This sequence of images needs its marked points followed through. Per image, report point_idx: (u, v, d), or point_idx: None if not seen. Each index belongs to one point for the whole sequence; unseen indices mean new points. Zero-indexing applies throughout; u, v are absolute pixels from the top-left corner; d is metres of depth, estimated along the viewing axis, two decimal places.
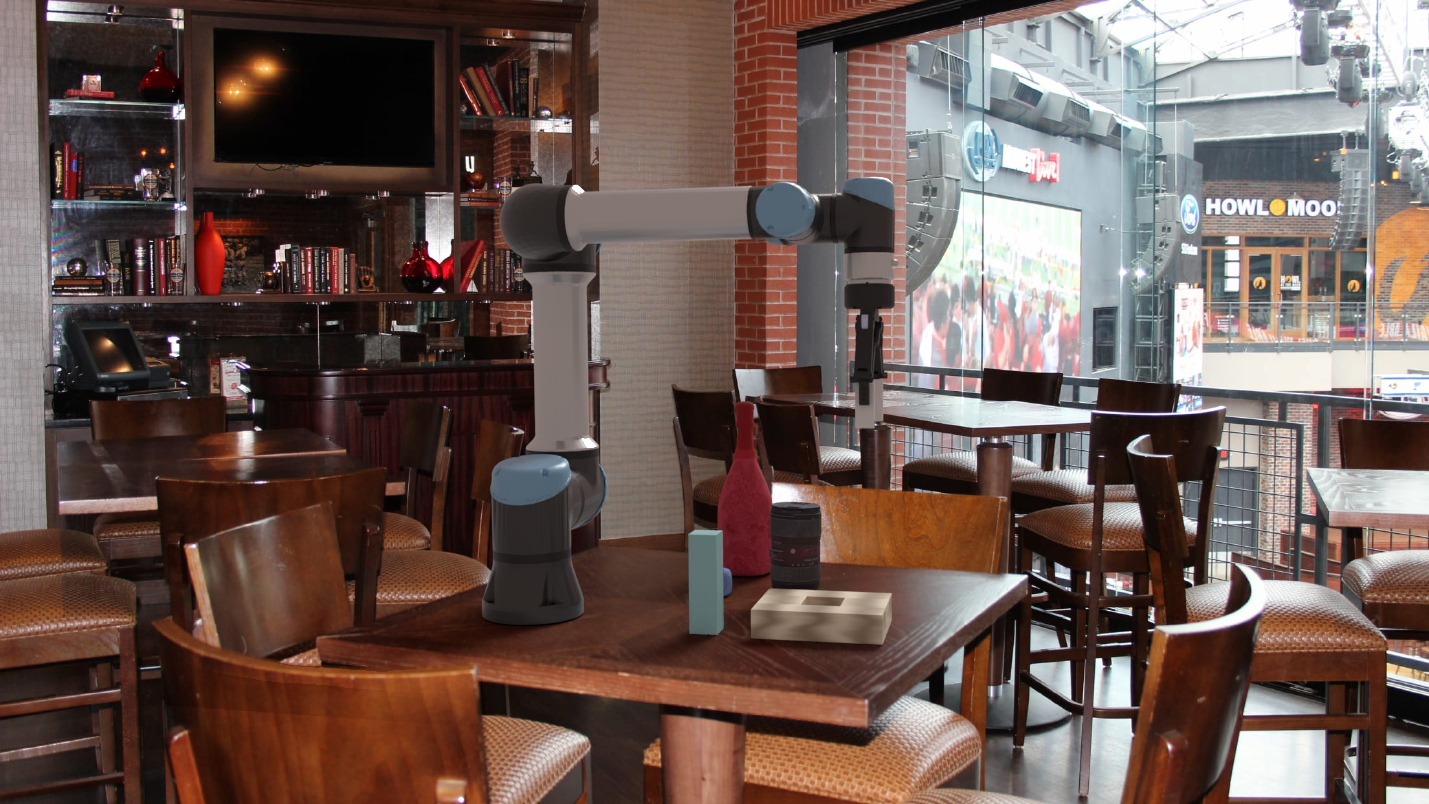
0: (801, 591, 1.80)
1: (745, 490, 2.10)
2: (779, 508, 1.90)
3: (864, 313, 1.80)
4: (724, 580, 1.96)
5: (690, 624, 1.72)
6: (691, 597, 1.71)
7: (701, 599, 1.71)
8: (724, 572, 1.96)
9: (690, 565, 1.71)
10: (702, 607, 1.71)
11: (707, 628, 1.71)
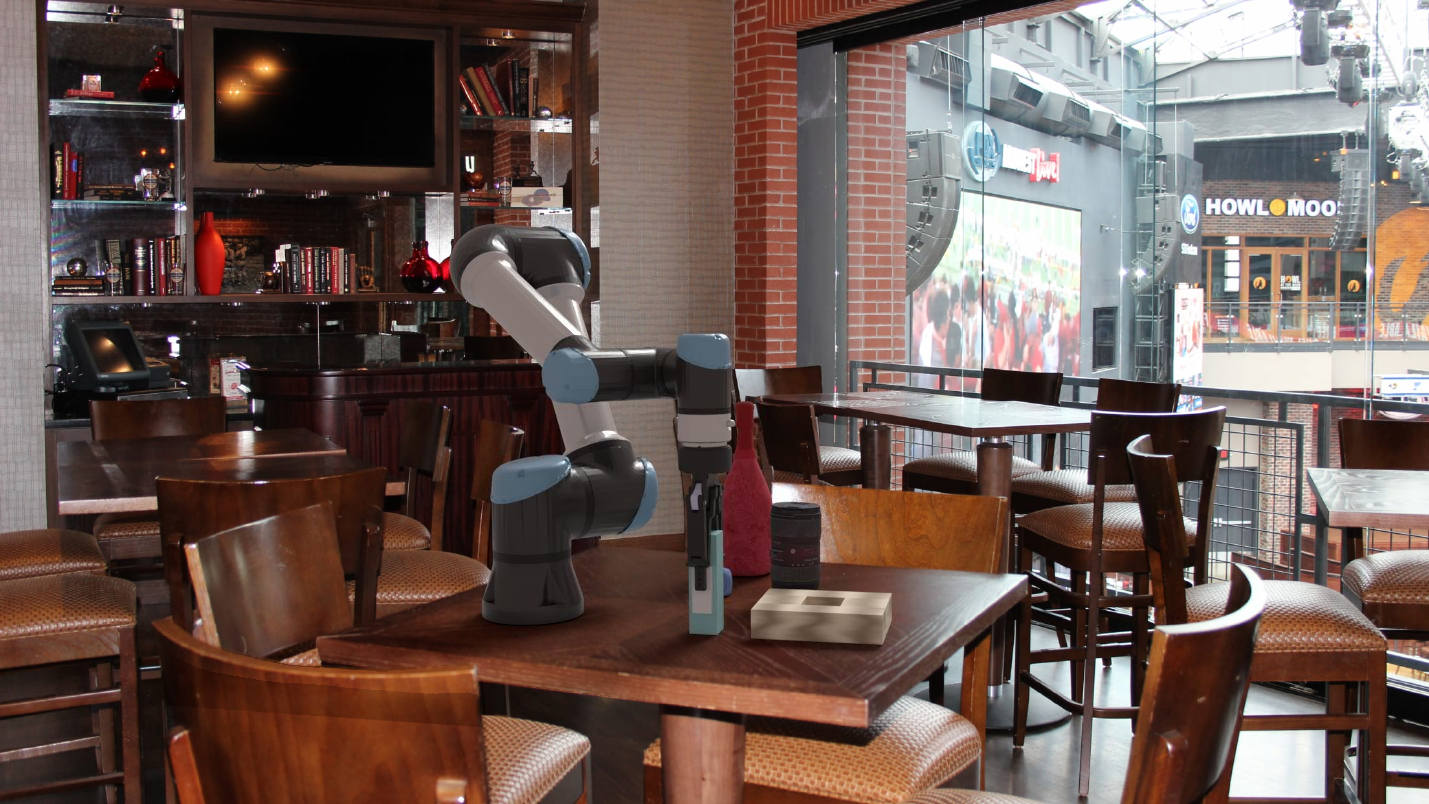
0: (801, 591, 1.80)
1: (746, 490, 2.10)
2: (779, 508, 1.90)
3: (696, 479, 1.68)
4: (724, 580, 1.96)
5: (690, 624, 1.72)
6: (691, 597, 1.71)
7: None
8: (724, 572, 1.96)
9: None
10: None
11: (707, 628, 1.71)
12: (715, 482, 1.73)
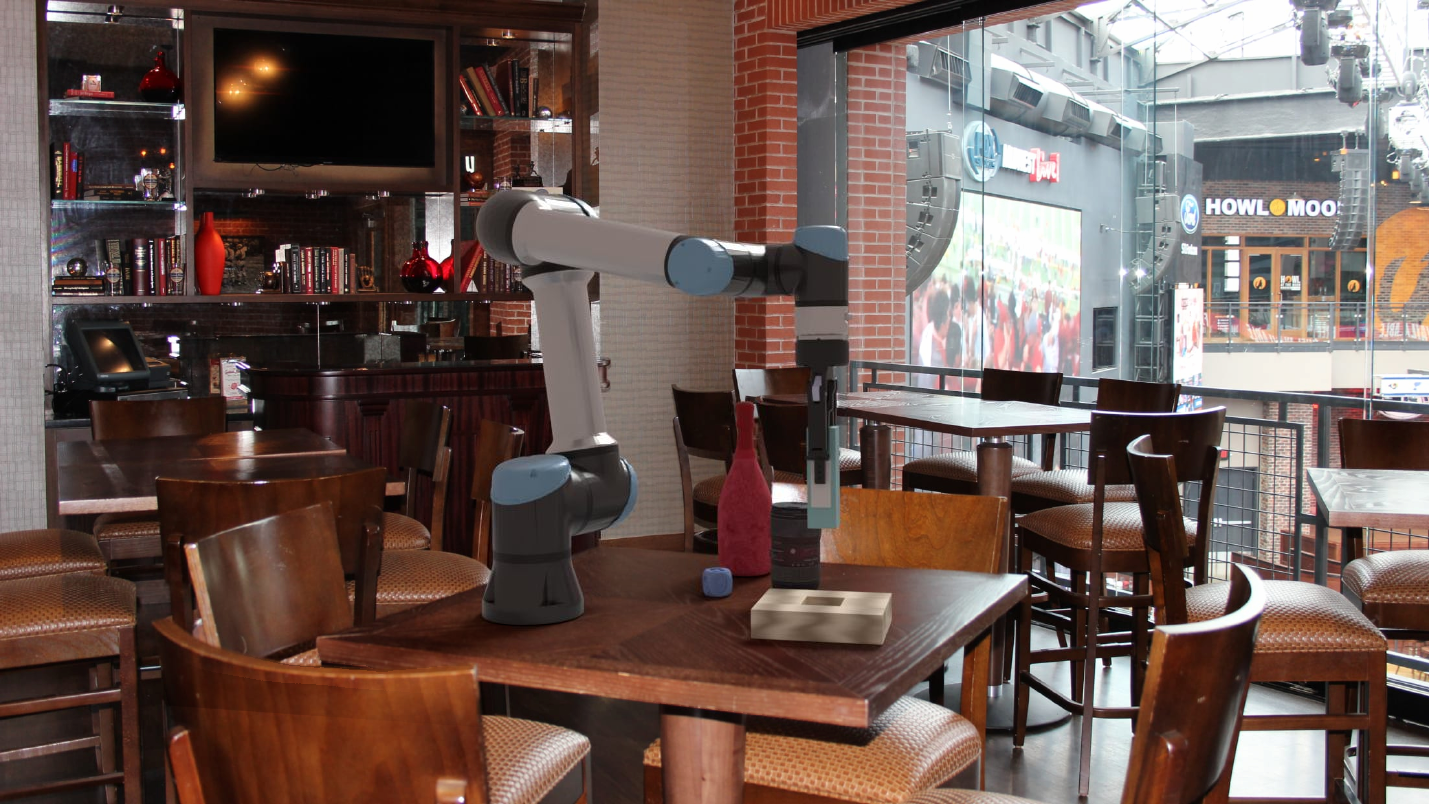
0: (801, 591, 1.80)
1: (746, 490, 2.10)
2: (779, 508, 1.90)
3: (815, 372, 1.68)
4: (724, 580, 1.96)
5: (808, 519, 1.71)
6: (809, 491, 1.71)
7: None
8: (724, 572, 1.96)
9: None
10: None
11: (825, 522, 1.70)
12: (831, 377, 1.73)
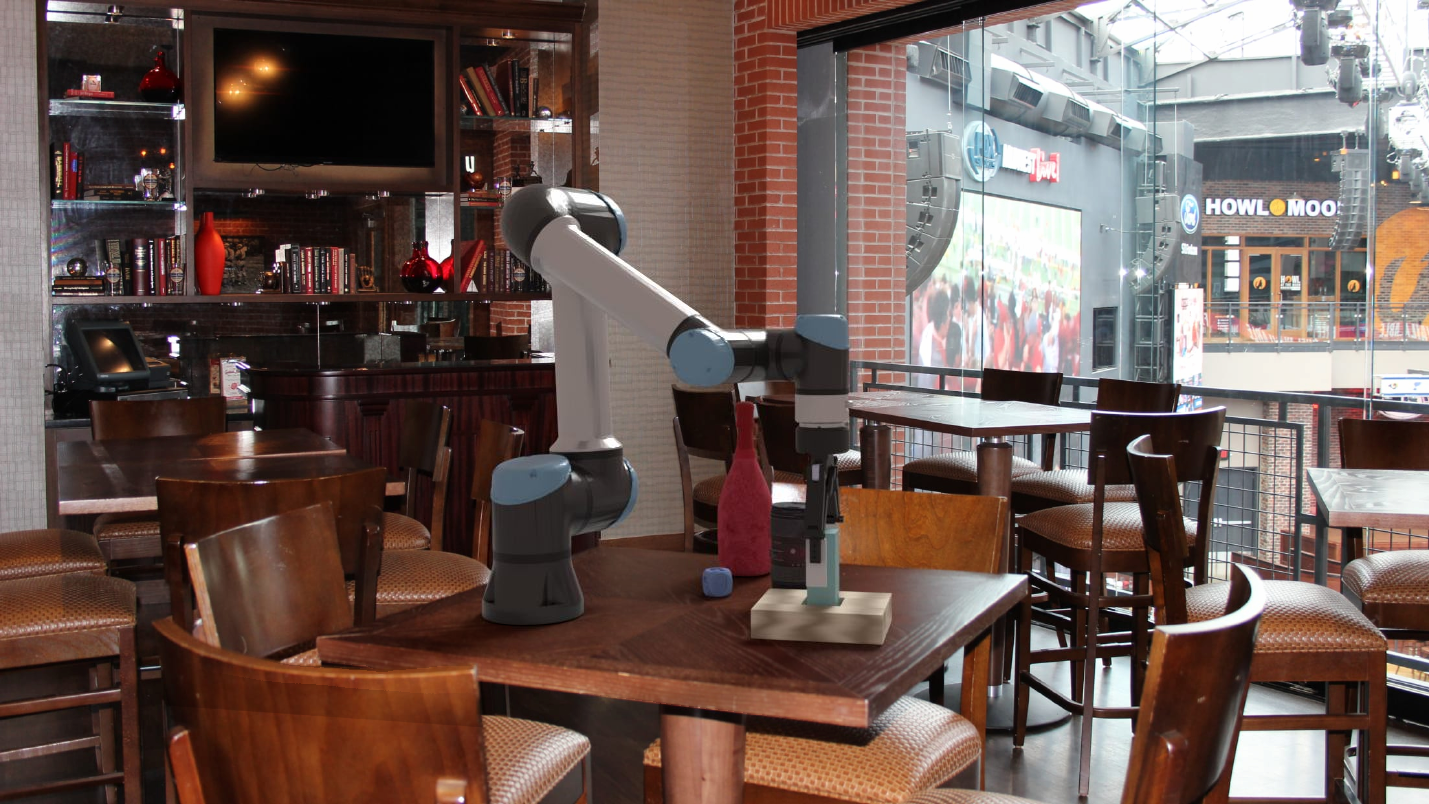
0: (801, 591, 1.80)
1: (746, 490, 2.10)
2: (779, 508, 1.90)
3: (816, 460, 1.68)
4: (724, 580, 1.96)
5: None
6: (809, 595, 1.72)
7: (819, 598, 1.71)
8: (724, 572, 1.96)
9: None
10: (821, 605, 1.71)
11: None
12: None
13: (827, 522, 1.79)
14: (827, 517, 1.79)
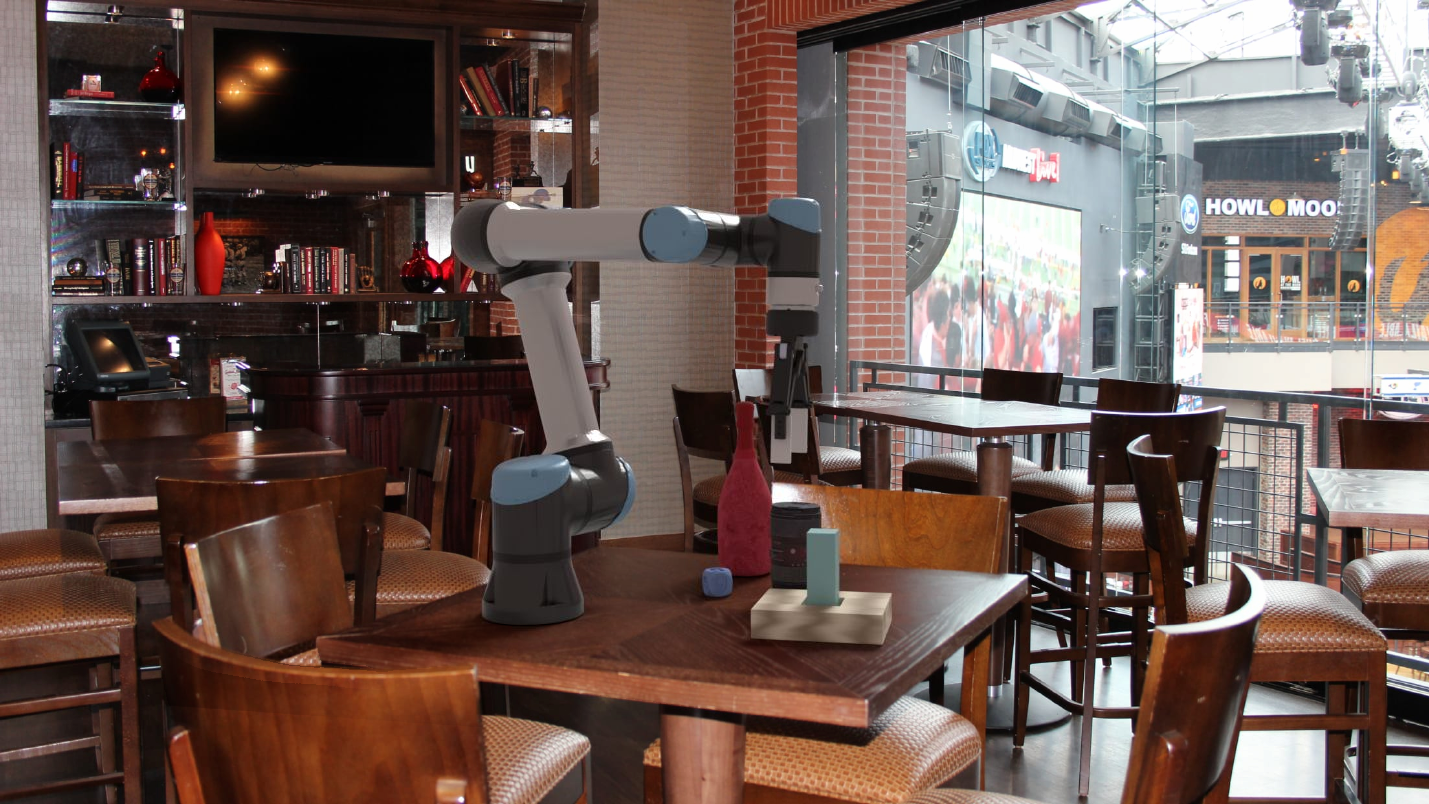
0: (801, 591, 1.80)
1: (746, 490, 2.10)
2: (779, 508, 1.90)
3: (784, 341, 1.71)
4: (724, 580, 1.96)
5: None
6: (809, 595, 1.72)
7: (819, 598, 1.71)
8: (724, 572, 1.96)
9: (808, 564, 1.71)
10: (821, 605, 1.71)
11: None
12: None
13: (796, 407, 1.82)
14: (796, 402, 1.82)
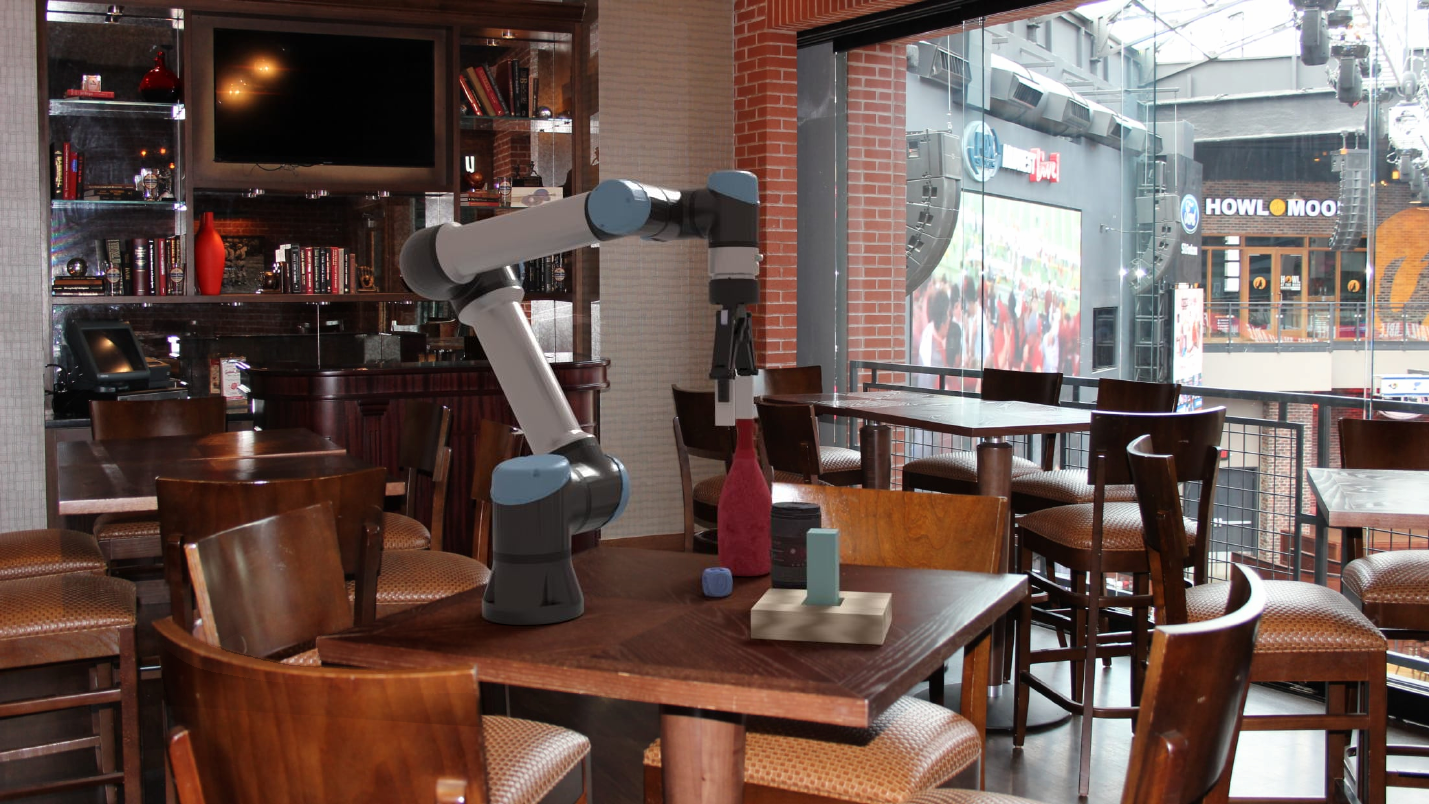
0: (801, 591, 1.80)
1: (746, 490, 2.10)
2: (779, 508, 1.90)
3: (726, 309, 1.77)
4: (724, 580, 1.96)
5: None
6: (809, 595, 1.72)
7: (819, 598, 1.71)
8: (724, 572, 1.96)
9: (808, 564, 1.71)
10: (821, 605, 1.71)
11: None
12: None
13: (742, 375, 1.88)
14: (742, 370, 1.88)
